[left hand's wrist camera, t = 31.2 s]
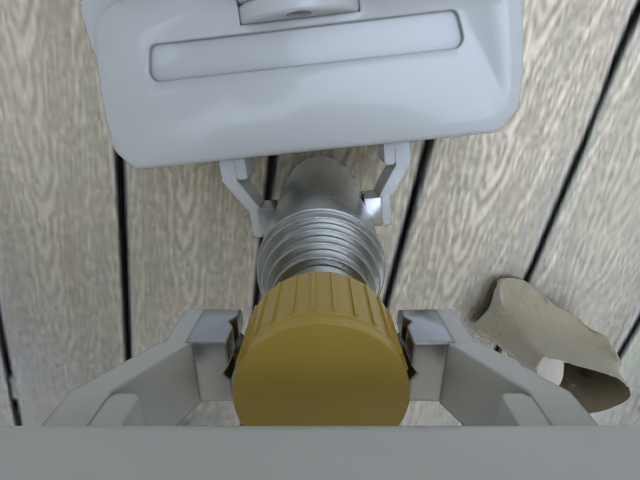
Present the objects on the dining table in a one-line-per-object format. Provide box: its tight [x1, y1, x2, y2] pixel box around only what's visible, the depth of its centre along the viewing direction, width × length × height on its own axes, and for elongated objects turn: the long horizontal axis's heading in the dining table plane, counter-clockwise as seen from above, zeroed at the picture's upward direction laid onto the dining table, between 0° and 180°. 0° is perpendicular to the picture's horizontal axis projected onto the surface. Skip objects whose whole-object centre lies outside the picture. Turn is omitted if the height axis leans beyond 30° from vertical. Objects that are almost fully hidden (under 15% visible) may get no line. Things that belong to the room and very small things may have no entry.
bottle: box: [256, 156, 385, 297], centre depth 18 cm, size 5×5×19 cm
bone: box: [473, 278, 630, 413], centre depth 26 cm, size 9×8×10 cm
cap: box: [232, 271, 410, 426], centre depth 9 cm, size 4×4×2 cm
